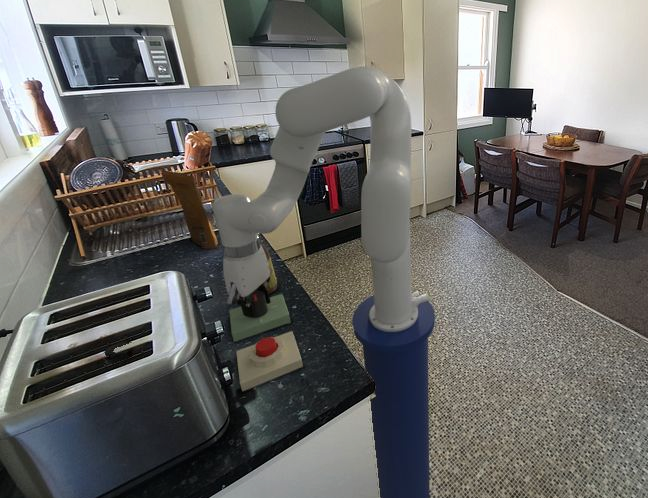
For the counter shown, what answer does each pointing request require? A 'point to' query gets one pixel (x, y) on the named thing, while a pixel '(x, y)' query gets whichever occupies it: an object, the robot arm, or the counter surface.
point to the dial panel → (259, 319)
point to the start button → (266, 347)
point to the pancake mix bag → (192, 208)
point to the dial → (259, 303)
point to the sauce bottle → (273, 278)
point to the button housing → (268, 362)
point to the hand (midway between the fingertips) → (257, 308)
